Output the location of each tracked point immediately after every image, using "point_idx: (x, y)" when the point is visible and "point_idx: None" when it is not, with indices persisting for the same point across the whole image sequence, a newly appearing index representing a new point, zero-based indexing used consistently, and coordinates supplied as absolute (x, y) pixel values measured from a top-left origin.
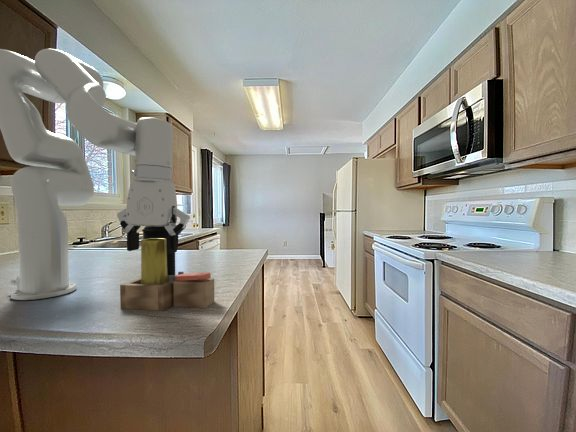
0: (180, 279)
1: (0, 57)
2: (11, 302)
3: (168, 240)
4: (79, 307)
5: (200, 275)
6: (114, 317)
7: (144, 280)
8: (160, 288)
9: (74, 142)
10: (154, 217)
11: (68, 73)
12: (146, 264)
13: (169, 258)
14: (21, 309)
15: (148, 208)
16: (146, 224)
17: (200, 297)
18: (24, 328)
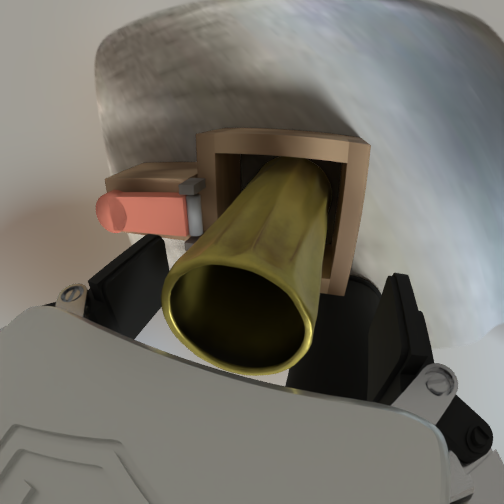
0: (169, 193)
1: None
2: None
3: (110, 265)
4: (469, 152)
5: (106, 193)
6: (325, 69)
7: (293, 177)
8: (207, 133)
9: None
10: (34, 371)
11: None
12: (271, 197)
13: (292, 366)
14: None
15: (27, 490)
16: (153, 355)
17: (139, 168)
18: (468, 26)
